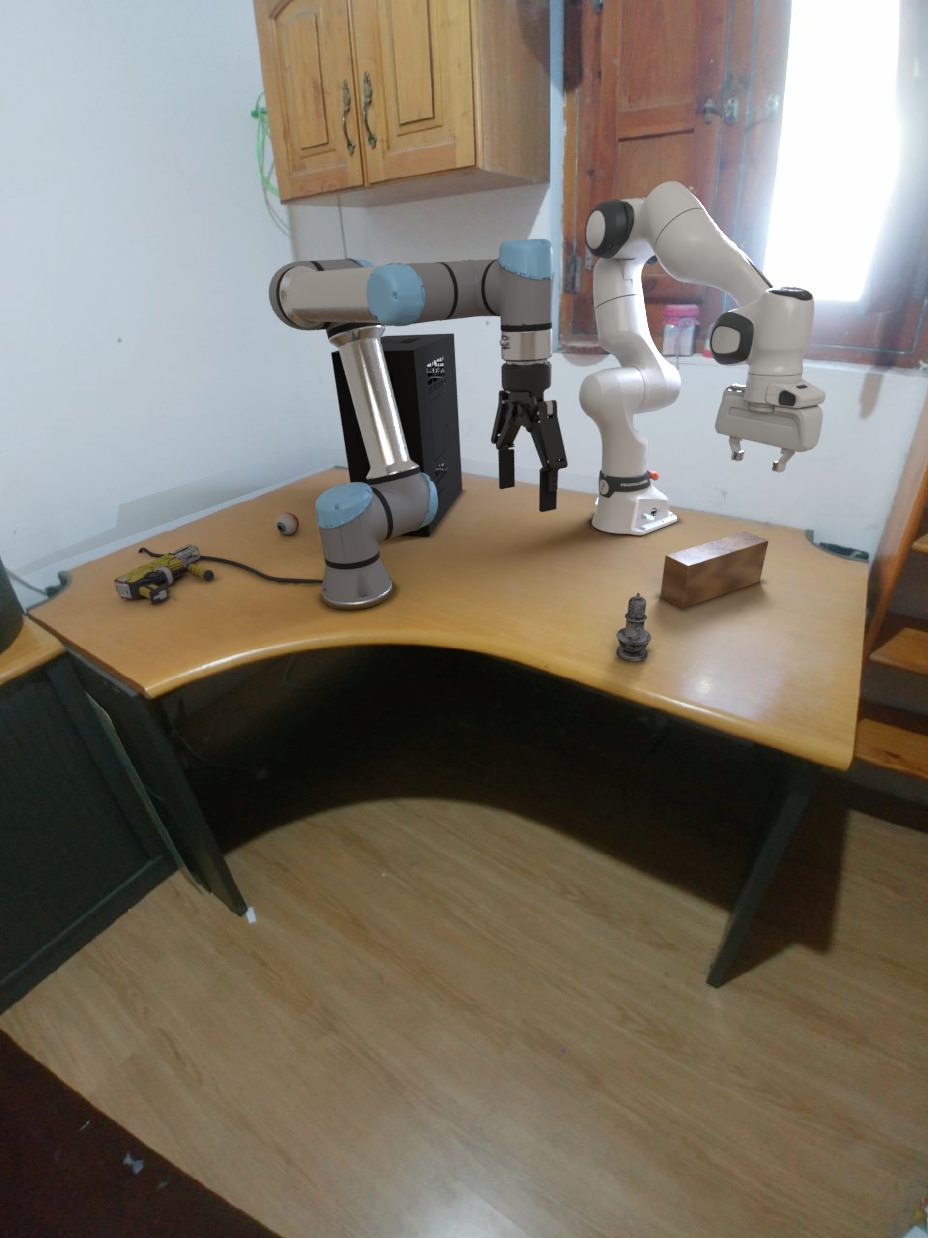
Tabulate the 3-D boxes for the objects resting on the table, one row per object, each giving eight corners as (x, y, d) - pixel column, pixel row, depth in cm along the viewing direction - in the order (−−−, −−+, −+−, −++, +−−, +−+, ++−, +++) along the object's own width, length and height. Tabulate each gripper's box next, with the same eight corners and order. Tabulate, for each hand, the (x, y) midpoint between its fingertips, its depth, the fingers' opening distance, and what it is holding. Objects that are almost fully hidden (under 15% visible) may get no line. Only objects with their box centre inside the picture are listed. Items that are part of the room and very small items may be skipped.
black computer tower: (429, 535, 159) (413, 350, 136) (357, 532, 163) (331, 352, 141) (462, 490, 190) (453, 333, 168) (401, 488, 195) (385, 335, 172)
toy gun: (236, 552, 148) (186, 541, 152) (163, 592, 128) (107, 579, 132) (239, 569, 150) (189, 559, 154) (167, 611, 130) (112, 598, 134)
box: (736, 571, 132) (744, 531, 128) (759, 581, 127) (768, 540, 123) (660, 596, 124) (665, 555, 119) (681, 608, 119) (688, 565, 115)
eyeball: (273, 537, 164) (268, 516, 161) (287, 528, 169) (282, 508, 166) (291, 539, 161) (286, 518, 158) (305, 530, 166) (301, 510, 163)
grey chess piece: (650, 663, 103) (658, 601, 97) (615, 660, 105) (620, 600, 99) (648, 644, 108) (655, 585, 102) (614, 642, 110) (620, 583, 104)
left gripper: (468, 356, 99) (473, 482, 109) (549, 373, 79) (546, 525, 89) (508, 351, 101) (510, 475, 112) (596, 366, 81) (588, 516, 92)
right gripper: (713, 384, 116) (703, 456, 123) (810, 399, 100) (791, 481, 107) (737, 380, 118) (725, 451, 125) (835, 394, 102) (815, 474, 109)
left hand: (526, 498), depth 101 cm, fingers open, 13 cm apart
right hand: (756, 465), depth 116 cm, fingers open, 8 cm apart
